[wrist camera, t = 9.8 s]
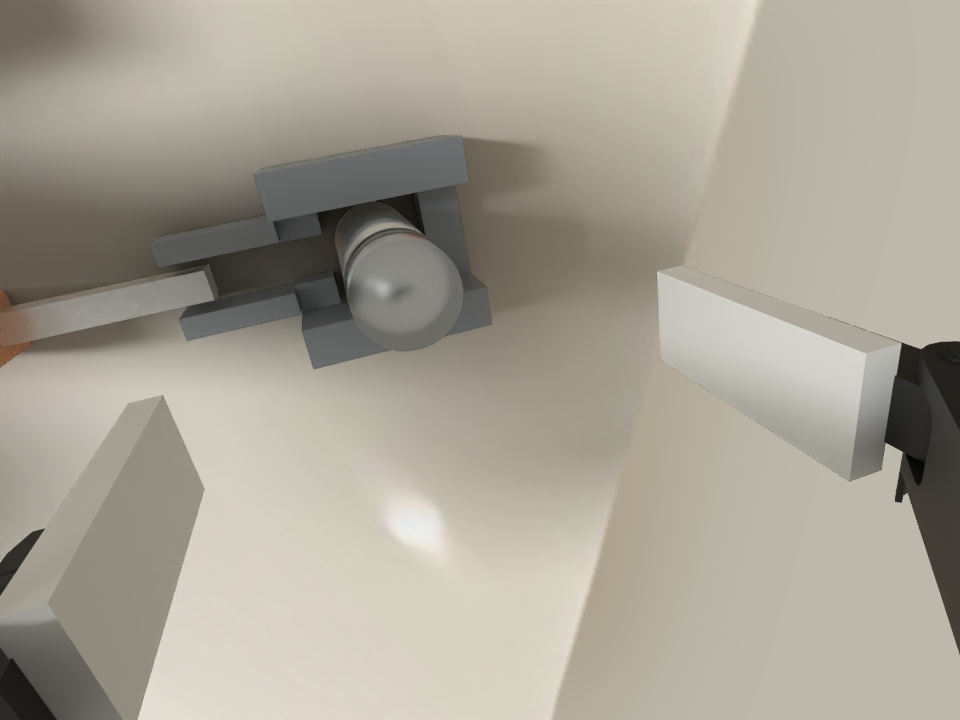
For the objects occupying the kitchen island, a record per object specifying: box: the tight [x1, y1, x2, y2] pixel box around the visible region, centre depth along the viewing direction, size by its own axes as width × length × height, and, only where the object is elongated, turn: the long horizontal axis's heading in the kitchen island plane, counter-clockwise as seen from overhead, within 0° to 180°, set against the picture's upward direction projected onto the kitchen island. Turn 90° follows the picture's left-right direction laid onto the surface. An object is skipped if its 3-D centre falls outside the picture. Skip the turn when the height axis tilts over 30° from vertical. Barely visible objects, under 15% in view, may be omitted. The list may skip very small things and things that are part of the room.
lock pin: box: [0, 264, 219, 368], centre depth 28 cm, size 13×3×6 cm, turn 99°
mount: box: [149, 135, 492, 369], centre depth 31 cm, size 16×10×5 cm, turn 99°
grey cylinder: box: [335, 202, 463, 351], centre depth 28 cm, size 4×4×13 cm
